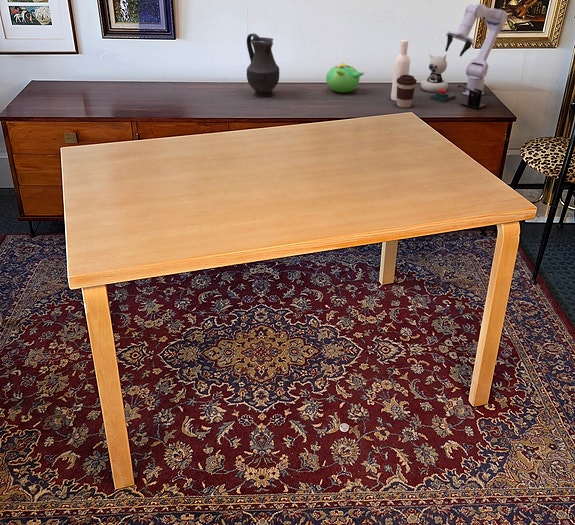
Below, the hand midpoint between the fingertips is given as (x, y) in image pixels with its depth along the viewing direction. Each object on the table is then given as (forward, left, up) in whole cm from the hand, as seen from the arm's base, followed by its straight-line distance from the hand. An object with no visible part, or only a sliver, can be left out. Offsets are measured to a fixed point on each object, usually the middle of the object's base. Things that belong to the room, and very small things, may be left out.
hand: (453, 53), depth 314 cm
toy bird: (+24, -50, -26) cm, 61 cm away
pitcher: (+60, -76, -26) cm, 100 cm away
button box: (-8, -7, -26) cm, 28 cm away
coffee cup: (+18, -13, -26) cm, 34 cm away
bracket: (-9, +11, -26) cm, 30 cm away
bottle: (+11, -22, -26) cm, 36 cm away
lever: (-9, +7, -20) cm, 23 cm away
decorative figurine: (-18, -20, -26) cm, 38 cm away
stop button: (-7, -7, -23) cm, 25 cm away
